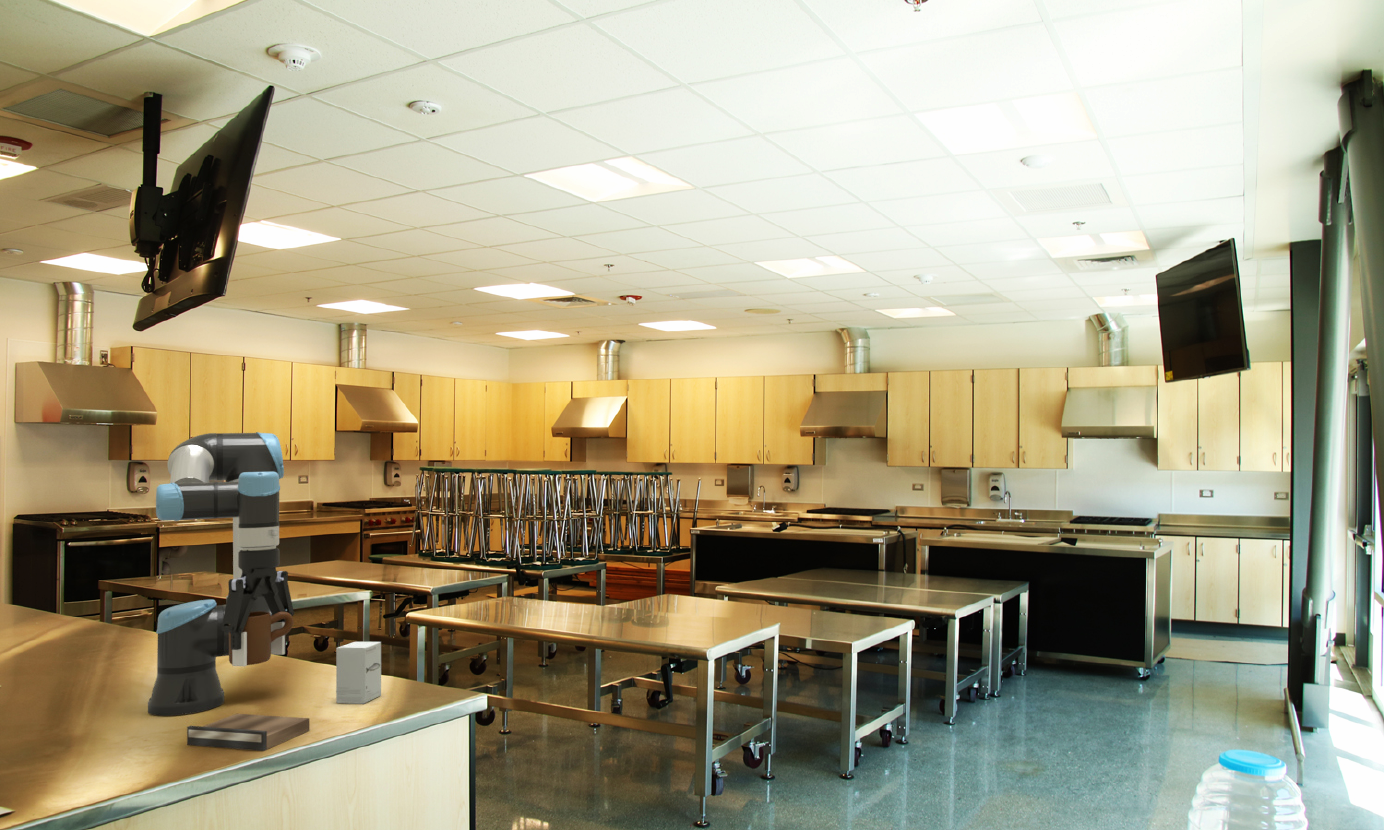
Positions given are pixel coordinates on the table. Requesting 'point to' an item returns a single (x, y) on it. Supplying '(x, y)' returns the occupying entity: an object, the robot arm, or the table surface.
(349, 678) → the supplement box
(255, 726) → the wooden slab
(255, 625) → the mug
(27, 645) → the table surface
